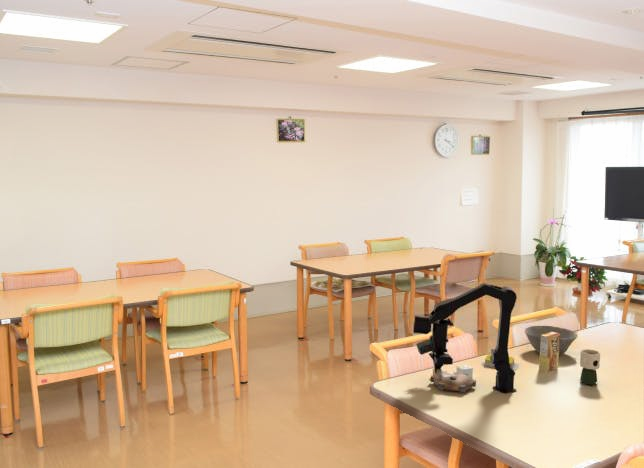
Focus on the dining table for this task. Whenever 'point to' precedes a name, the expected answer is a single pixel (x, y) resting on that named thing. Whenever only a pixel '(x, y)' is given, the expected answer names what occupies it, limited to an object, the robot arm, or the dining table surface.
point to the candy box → (549, 351)
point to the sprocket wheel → (453, 381)
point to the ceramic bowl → (537, 331)
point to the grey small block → (465, 370)
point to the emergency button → (489, 363)
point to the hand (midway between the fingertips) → (436, 373)
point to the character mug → (589, 365)
